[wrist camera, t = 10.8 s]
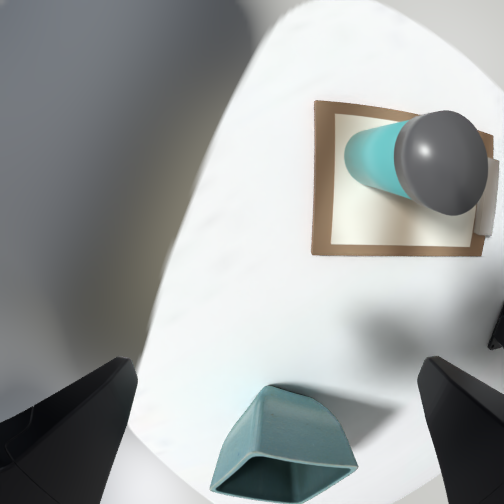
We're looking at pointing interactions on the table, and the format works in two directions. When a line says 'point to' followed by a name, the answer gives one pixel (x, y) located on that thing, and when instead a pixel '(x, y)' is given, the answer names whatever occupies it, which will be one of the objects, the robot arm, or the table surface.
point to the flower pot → (283, 450)
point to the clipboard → (384, 198)
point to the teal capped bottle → (423, 161)
